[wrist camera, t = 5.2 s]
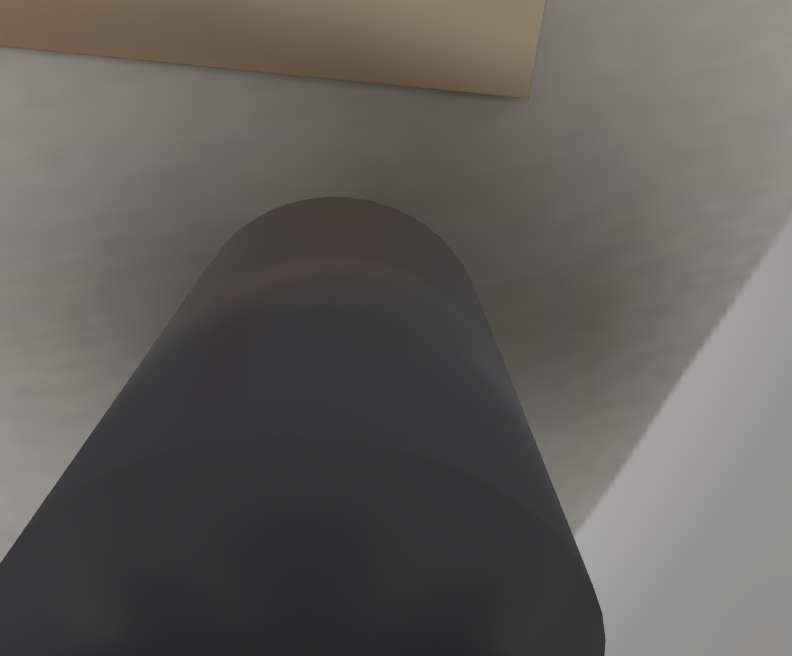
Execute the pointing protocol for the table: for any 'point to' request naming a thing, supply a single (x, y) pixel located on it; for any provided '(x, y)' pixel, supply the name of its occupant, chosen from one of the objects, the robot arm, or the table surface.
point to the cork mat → (301, 37)
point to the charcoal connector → (309, 472)
